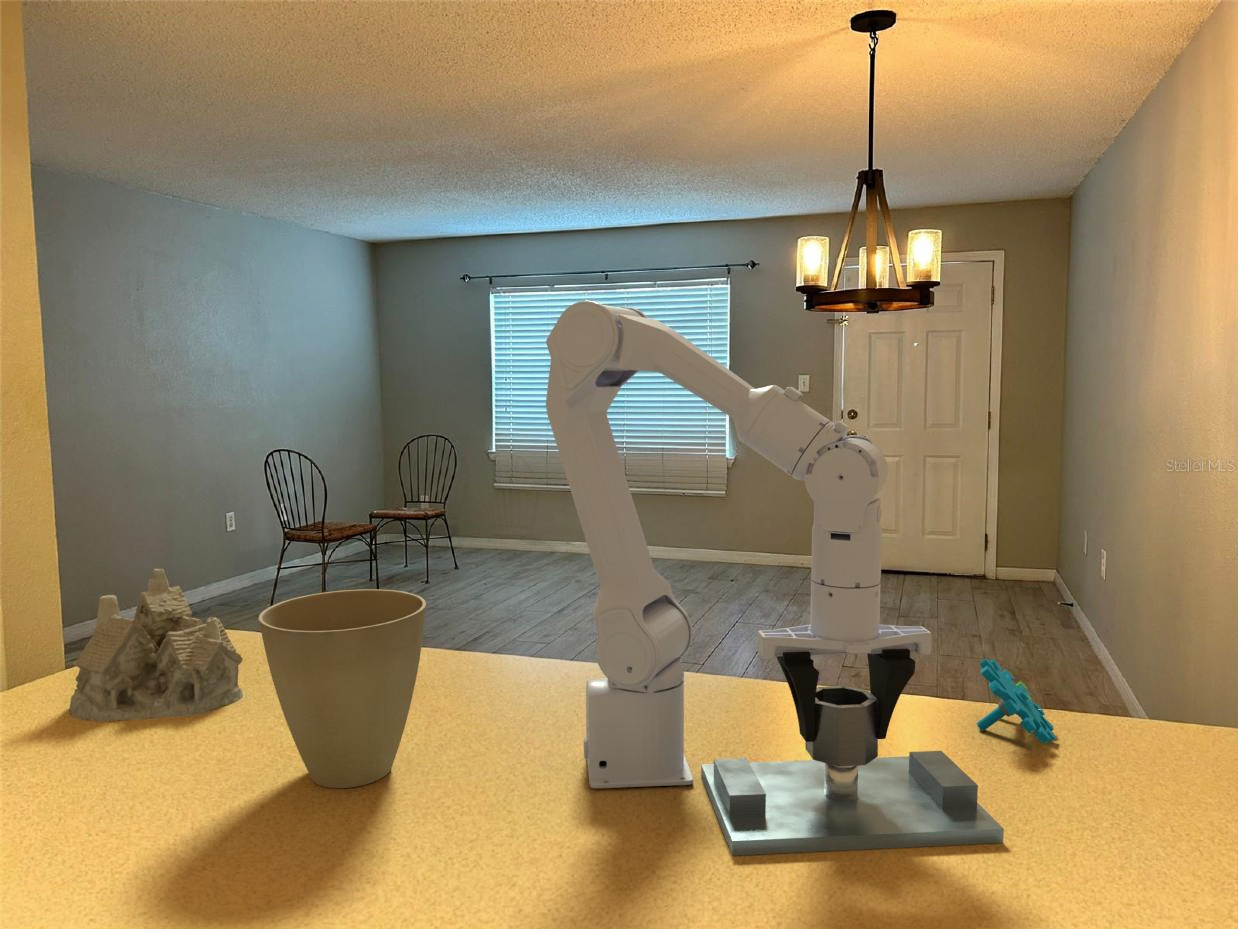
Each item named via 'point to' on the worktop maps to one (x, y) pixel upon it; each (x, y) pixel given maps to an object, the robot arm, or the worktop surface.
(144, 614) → the ceramic cottage
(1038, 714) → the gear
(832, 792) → the shaft mount
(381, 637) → the plant pot
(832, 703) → the collar
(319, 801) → the worktop surface
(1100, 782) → the worktop surface
